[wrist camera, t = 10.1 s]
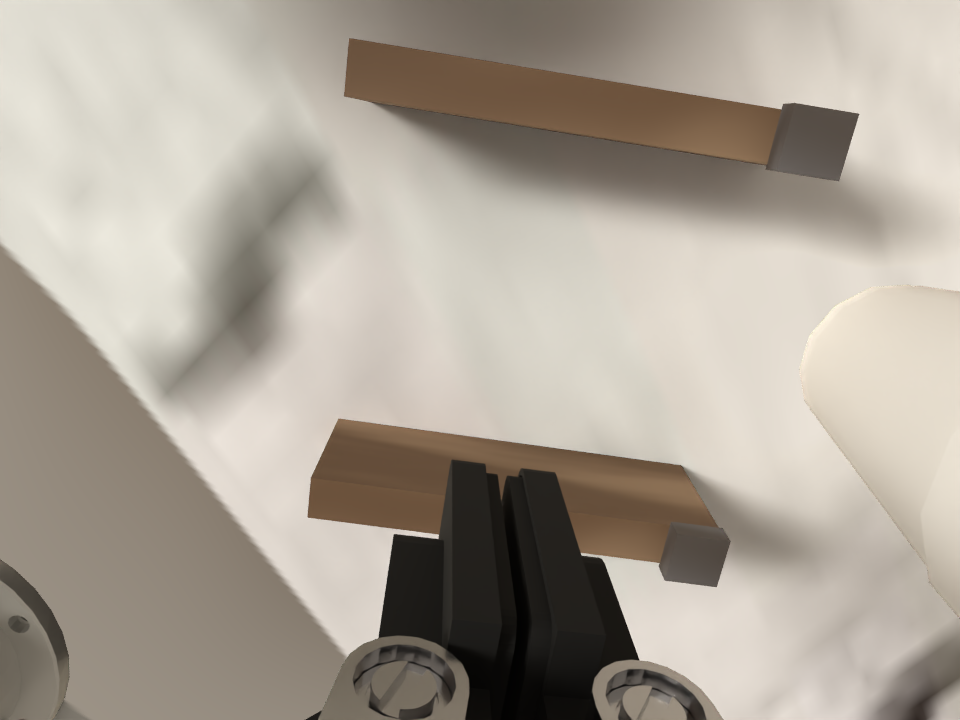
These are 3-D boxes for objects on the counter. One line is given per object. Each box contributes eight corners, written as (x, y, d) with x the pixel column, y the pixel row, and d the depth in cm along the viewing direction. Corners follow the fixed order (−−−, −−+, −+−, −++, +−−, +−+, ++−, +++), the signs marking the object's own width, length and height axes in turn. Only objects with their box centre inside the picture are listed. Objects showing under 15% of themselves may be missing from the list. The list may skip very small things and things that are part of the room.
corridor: (671, 501, 30) (716, 587, 24) (334, 456, 29) (301, 533, 23) (774, 116, 25) (859, 113, 19) (374, 50, 24) (344, 28, 19)
